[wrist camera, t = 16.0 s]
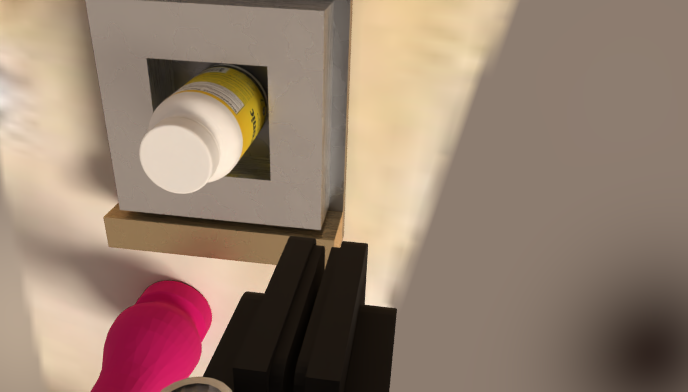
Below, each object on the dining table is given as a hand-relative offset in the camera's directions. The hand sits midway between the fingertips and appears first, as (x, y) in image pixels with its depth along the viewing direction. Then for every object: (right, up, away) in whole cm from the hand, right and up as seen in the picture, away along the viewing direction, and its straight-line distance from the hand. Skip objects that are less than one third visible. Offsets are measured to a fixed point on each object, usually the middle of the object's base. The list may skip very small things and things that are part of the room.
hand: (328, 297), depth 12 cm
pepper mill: (-14, -7, +37) cm, 40 cm away
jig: (-7, +9, +27) cm, 30 cm away
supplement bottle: (-7, +9, +27) cm, 29 cm away
